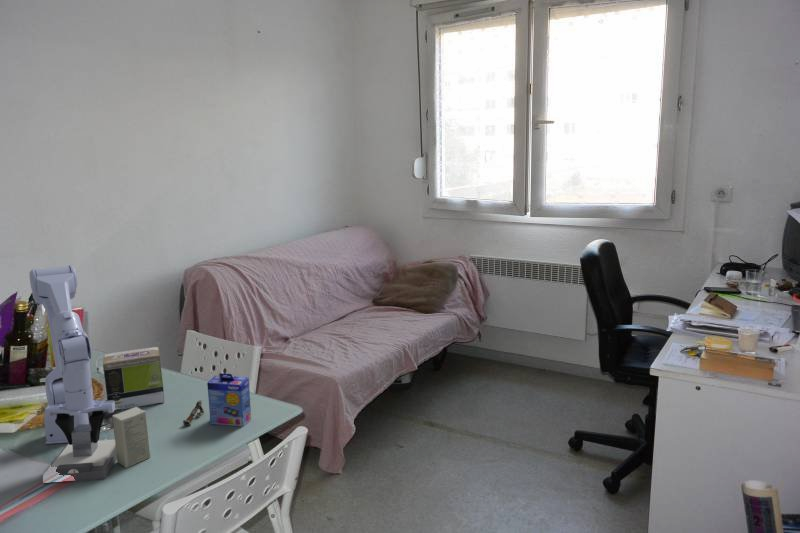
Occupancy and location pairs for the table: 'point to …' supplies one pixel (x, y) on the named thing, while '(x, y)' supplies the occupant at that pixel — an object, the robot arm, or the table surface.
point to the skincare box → (131, 436)
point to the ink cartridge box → (229, 400)
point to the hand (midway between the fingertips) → (84, 441)
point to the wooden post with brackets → (194, 411)
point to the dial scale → (87, 462)
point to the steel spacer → (83, 441)
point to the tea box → (133, 377)
